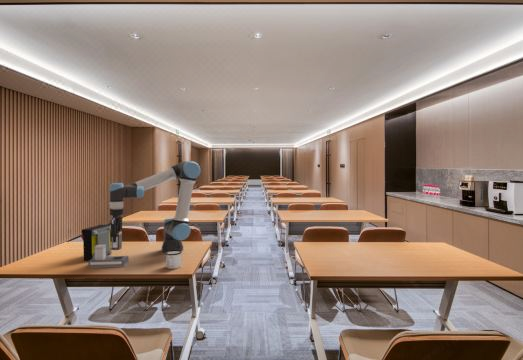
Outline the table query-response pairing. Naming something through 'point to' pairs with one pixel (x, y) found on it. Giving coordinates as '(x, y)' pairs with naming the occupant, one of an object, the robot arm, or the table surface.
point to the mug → (173, 259)
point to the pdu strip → (109, 262)
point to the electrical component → (96, 240)
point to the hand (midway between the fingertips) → (116, 246)
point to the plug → (119, 235)
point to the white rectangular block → (100, 252)
